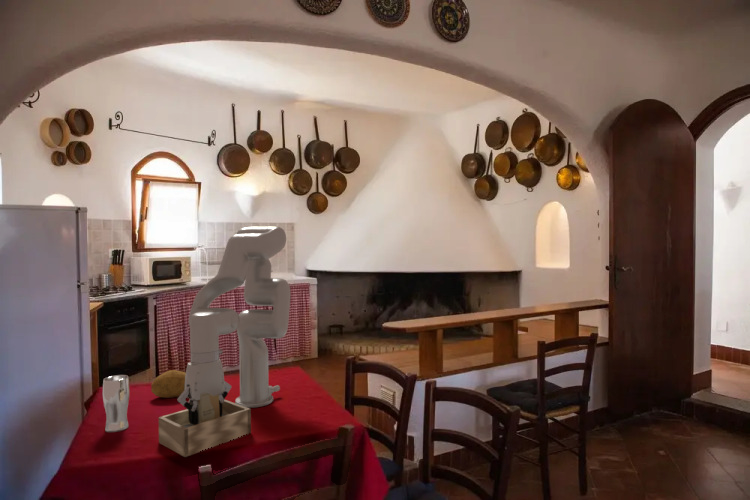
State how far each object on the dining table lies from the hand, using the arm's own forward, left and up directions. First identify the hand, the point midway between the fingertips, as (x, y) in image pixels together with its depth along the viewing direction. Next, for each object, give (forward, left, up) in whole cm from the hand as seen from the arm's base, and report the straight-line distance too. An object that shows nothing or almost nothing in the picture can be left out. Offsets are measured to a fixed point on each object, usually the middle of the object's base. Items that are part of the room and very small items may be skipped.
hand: (206, 419), depth 137 cm
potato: (-12, -43, -5) cm, 45 cm away
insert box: (0, 0, -5) cm, 5 cm away
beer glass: (+13, -27, -5) cm, 30 cm away
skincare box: (0, 0, -4) cm, 4 cm away
